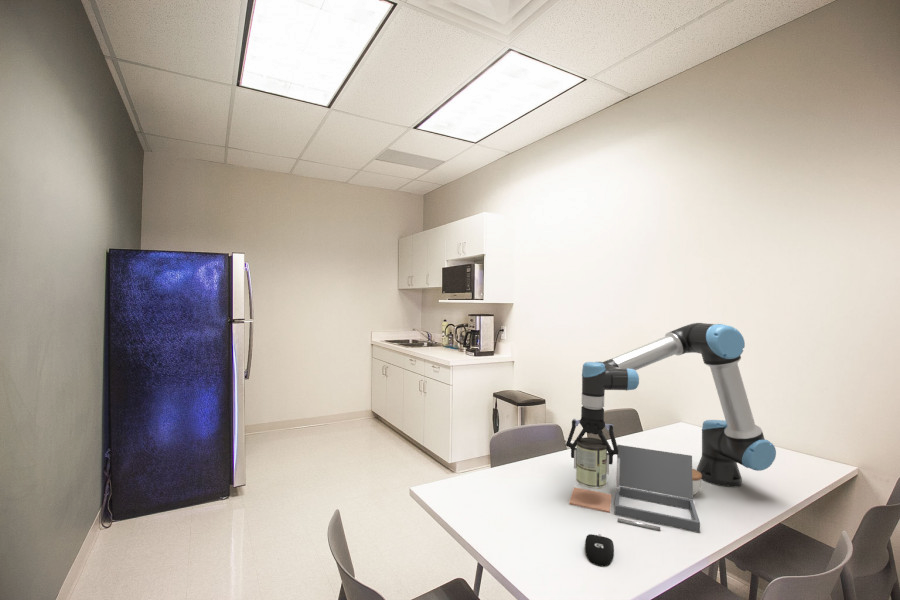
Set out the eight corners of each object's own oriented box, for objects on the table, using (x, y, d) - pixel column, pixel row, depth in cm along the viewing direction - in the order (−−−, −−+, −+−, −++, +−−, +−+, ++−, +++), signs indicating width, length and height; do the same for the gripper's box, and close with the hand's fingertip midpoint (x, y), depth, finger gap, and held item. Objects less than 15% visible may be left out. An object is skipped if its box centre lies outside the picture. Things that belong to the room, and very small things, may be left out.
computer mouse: (583, 563, 108) (583, 548, 108) (586, 539, 119) (586, 525, 119) (613, 570, 106) (614, 555, 106) (613, 545, 117) (614, 531, 117)
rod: (660, 529, 125) (660, 526, 125) (660, 531, 124) (660, 528, 124) (617, 520, 130) (617, 517, 130) (617, 522, 129) (617, 518, 129)
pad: (611, 496, 146) (611, 494, 146) (609, 512, 134) (609, 511, 134) (574, 488, 152) (574, 487, 152) (569, 504, 140) (569, 502, 140)
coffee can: (577, 473, 150) (578, 435, 150) (607, 479, 146) (608, 440, 146) (573, 484, 141) (574, 444, 141) (605, 491, 136) (606, 449, 136)
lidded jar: (697, 488, 154) (697, 463, 154) (705, 501, 144) (705, 475, 144) (665, 484, 157) (666, 459, 157) (670, 496, 147) (671, 470, 147)
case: (690, 503, 142) (691, 455, 142) (699, 532, 124) (700, 477, 124) (615, 489, 152) (616, 443, 152) (613, 514, 134) (614, 462, 134)
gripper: (627, 408, 142) (626, 472, 142) (561, 400, 151) (560, 460, 151) (627, 413, 135) (626, 480, 135) (558, 405, 144) (556, 467, 144)
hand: (591, 470), depth 143 cm, fingers closed on coffee can, 10 cm apart
